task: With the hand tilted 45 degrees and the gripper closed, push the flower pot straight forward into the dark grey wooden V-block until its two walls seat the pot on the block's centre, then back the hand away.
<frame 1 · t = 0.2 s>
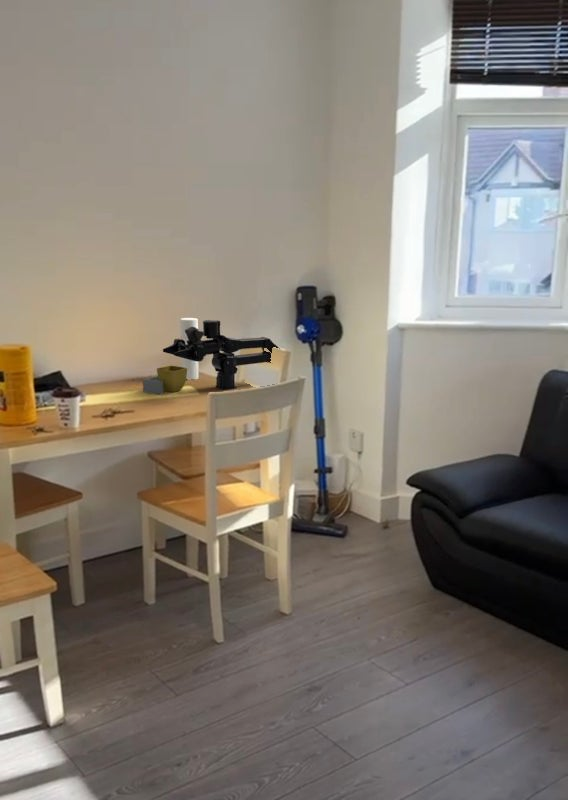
hand: (168, 352, 291), 17 cm above the table, tool horizontal, fingers open, 9 cm apart
cylindrical container: (189, 378, 326), on the table
V-block: (164, 390, 301), on the table
flower pot: (172, 391, 302), on the table
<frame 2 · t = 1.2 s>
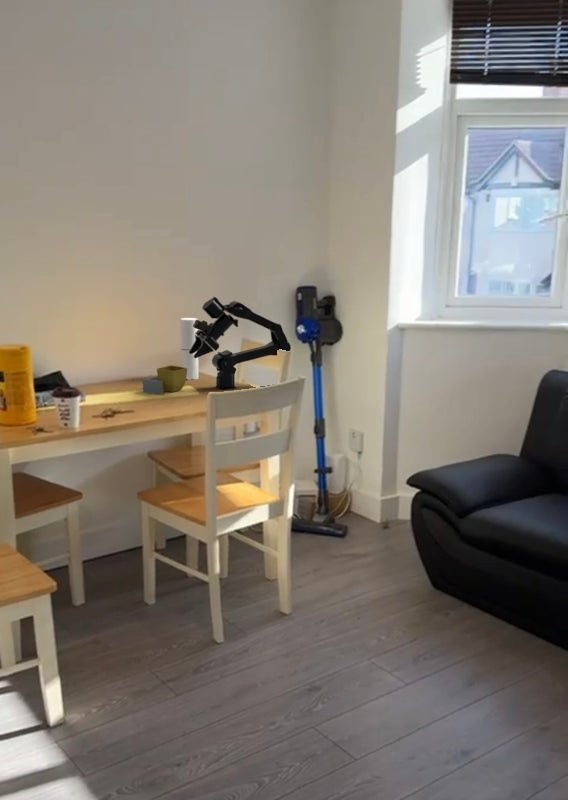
hand: (192, 355, 301), 14 cm above the table, tool tilted 45°, fingers open, 9 cm apart
nothing on the table moved.
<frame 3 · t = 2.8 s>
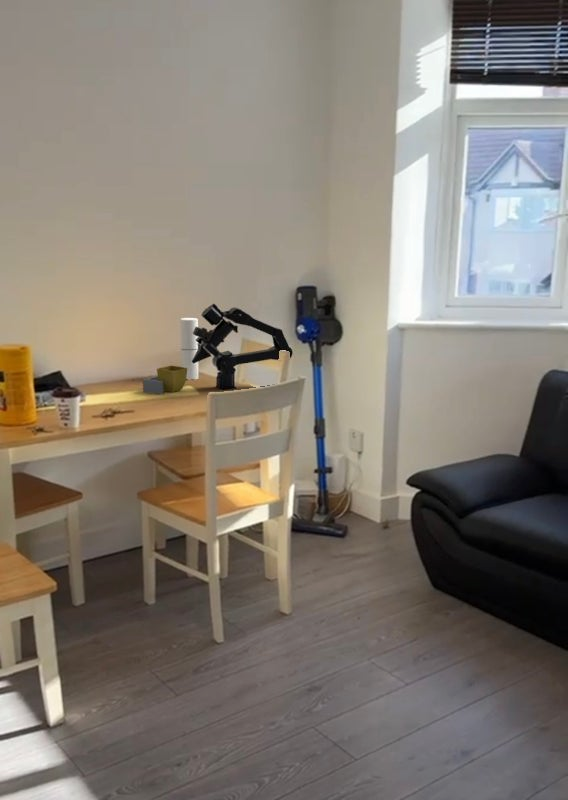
hand: (192, 362, 302), 11 cm above the table, tool tilted 45°, fingers closed
nothing on the table moved.
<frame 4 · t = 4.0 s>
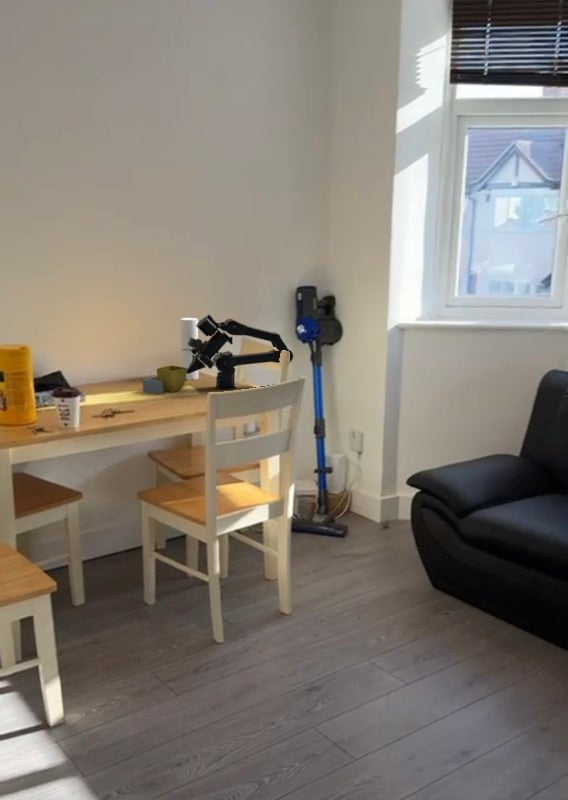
hand: (186, 373, 303), 7 cm above the table, tool tilted 45°, fingers closed
flower pot: (172, 391, 302), on the table, touching gripper
everything else where it was.
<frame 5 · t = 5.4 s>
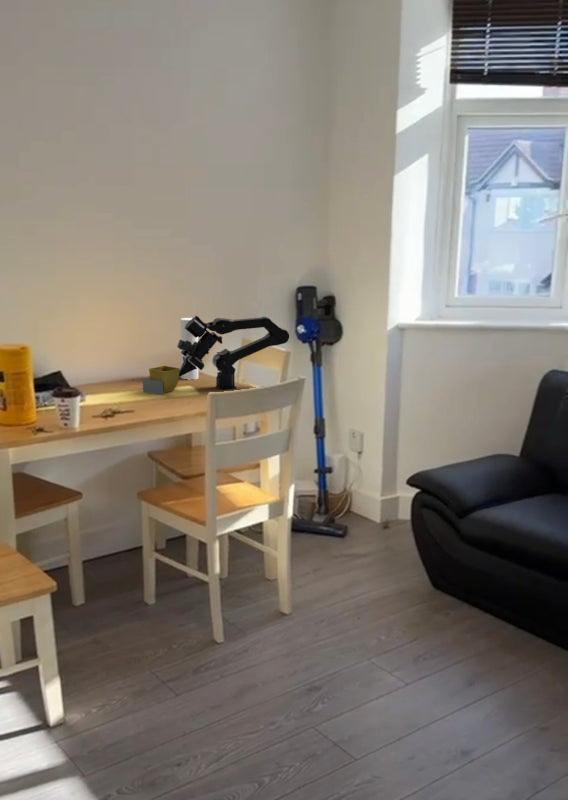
hand: (178, 375, 302), 6 cm above the table, tool tilted 40°, fingers closed
flower pot: (164, 391, 301), on the table, touching V-block, gripper
everything else where it was.
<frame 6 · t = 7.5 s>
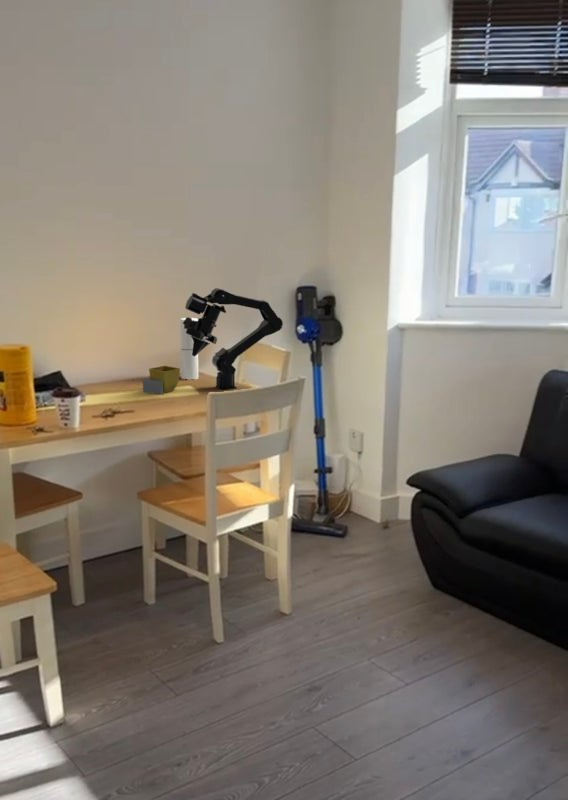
hand: (193, 355, 301), 14 cm above the table, tool tilted 25°, fingers closed
flower pot: (165, 391, 301), on the table
everything else where it was.
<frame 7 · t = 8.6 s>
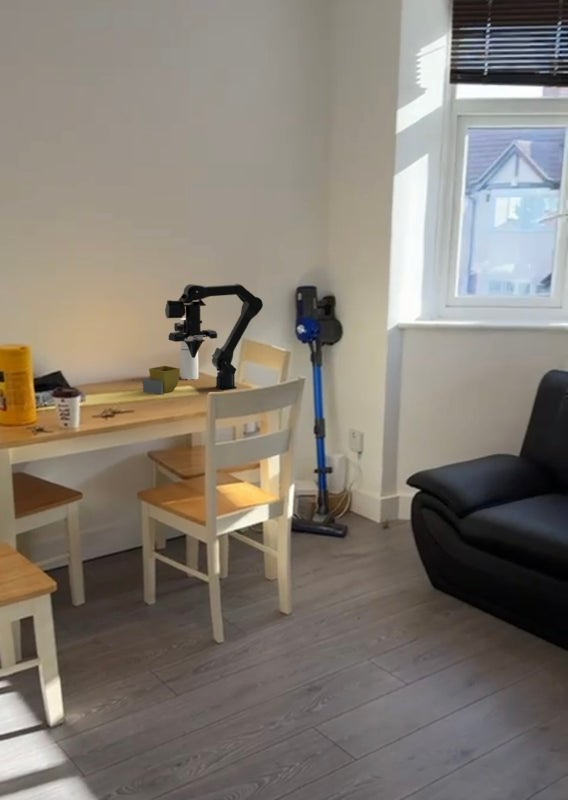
hand: (193, 357, 301), 13 cm above the table, tool pointing down, fingers closed
nothing on the table moved.
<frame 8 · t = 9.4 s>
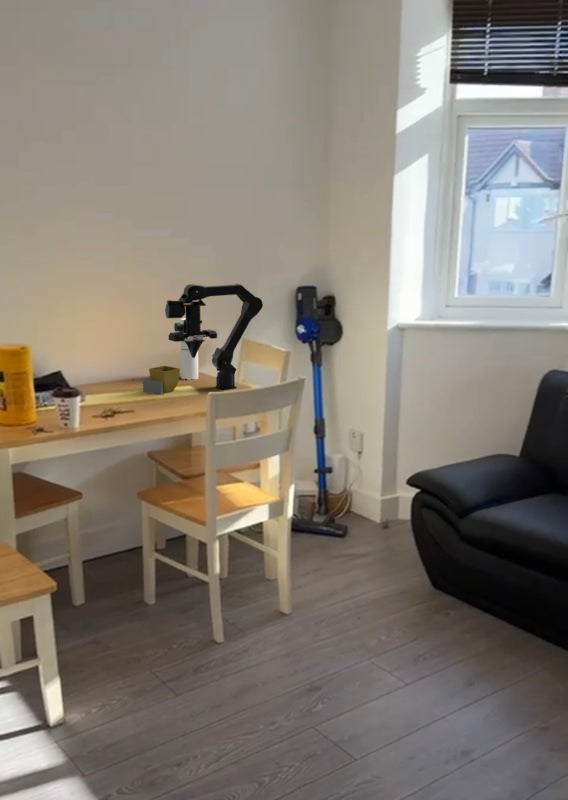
hand: (193, 357, 301), 13 cm above the table, tool pointing down, fingers closed
nothing on the table moved.
at the end: flower pot 0.1 cm from the V-block (horizontally); flower pot moved 3.0 cm from its start; flower pot tilted 0° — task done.
